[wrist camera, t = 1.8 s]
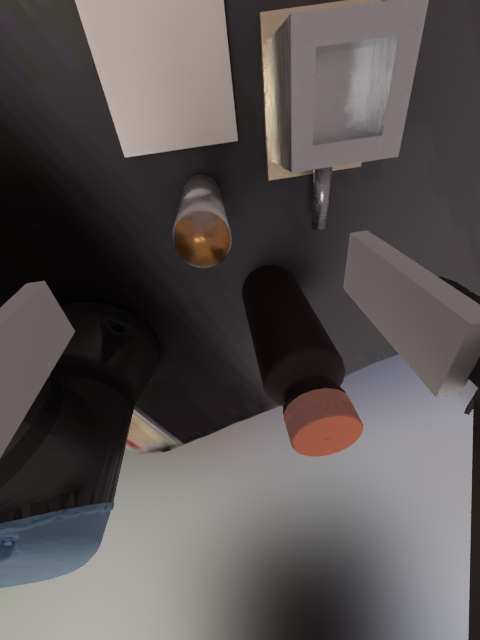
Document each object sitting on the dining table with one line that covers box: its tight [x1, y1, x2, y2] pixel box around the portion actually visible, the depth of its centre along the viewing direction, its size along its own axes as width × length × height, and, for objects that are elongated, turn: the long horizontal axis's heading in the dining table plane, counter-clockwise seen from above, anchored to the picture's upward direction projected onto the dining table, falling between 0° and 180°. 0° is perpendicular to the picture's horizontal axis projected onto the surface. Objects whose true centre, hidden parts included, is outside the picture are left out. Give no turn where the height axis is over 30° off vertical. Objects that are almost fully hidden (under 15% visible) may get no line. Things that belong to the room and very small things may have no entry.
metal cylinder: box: [172, 174, 232, 268], centre depth 22 cm, size 4×4×13 cm
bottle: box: [242, 266, 363, 456], centre depth 26 cm, size 7×7×20 cm
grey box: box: [258, 0, 429, 230], centre depth 22 cm, size 9×16×8 cm, turn 7°
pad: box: [75, 0, 238, 158], centre depth 22 cm, size 10×10×1 cm
